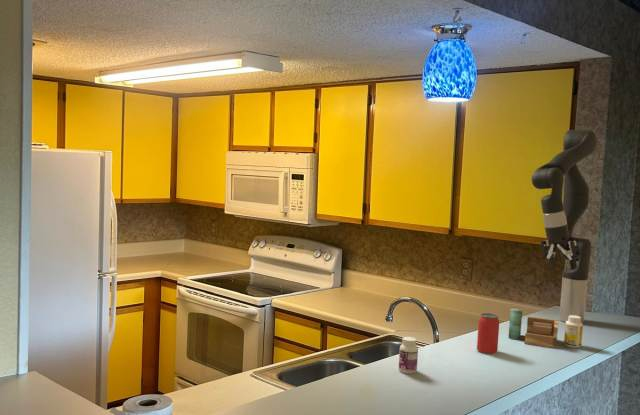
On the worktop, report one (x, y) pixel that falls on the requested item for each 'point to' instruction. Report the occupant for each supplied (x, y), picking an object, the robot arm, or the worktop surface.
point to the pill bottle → (408, 355)
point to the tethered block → (516, 326)
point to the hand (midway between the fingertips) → (563, 269)
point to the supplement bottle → (573, 332)
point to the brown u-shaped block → (541, 339)
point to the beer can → (488, 333)
